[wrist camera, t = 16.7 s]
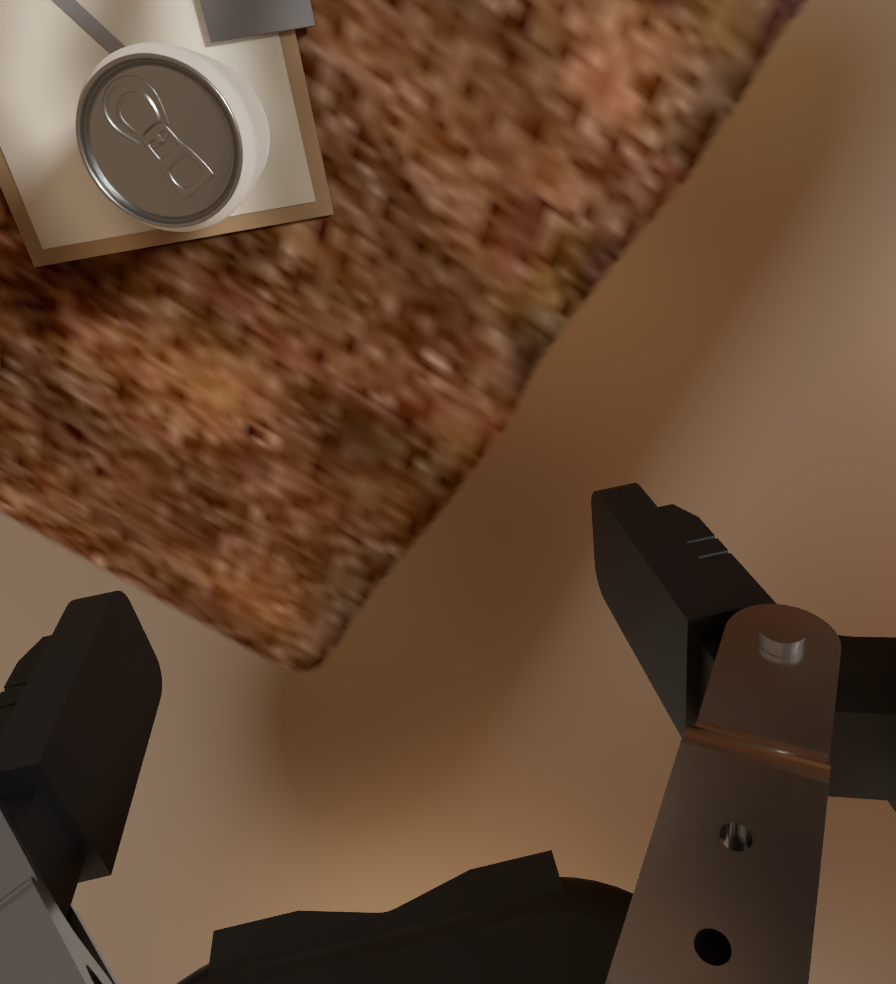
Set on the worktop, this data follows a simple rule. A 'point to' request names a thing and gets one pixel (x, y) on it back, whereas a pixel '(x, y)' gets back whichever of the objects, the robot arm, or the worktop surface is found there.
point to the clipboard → (55, 93)
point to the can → (171, 135)
